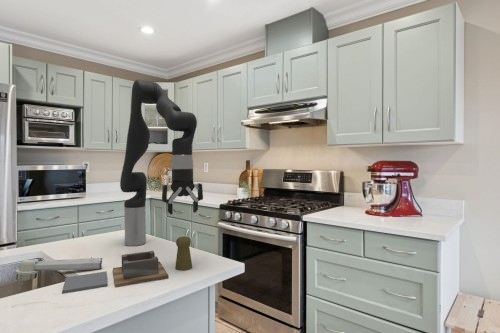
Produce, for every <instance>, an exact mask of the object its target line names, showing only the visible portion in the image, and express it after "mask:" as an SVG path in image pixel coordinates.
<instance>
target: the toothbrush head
mask: <svg viewBox="0 0 500 333" xmlns="http://www.w3.org/2000/svg"><path fill="white" fill-rule="evenodd" d="M102 264H103V258H102V257H92V256H91V257H87V258H85V257H83V258H69V259H68V258H67V259H52V260H51V259H50V260H36V259H24V260H22V261H21V262H20V265H19V268H18V269H15V273H14V274H16V278H15V280H17V281H20V280H21V281H23V282H24V281H29V280H34V279H37V277H38V274H39V272H40V271H92V270H93V271H95V270H101V269H102V266H103V265H102Z"/></svg>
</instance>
